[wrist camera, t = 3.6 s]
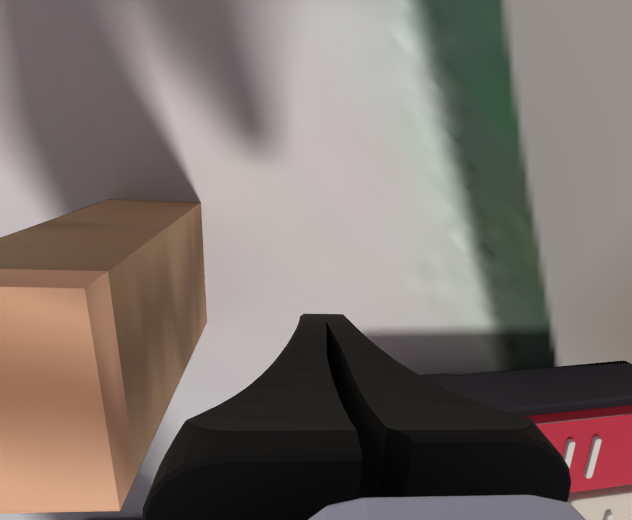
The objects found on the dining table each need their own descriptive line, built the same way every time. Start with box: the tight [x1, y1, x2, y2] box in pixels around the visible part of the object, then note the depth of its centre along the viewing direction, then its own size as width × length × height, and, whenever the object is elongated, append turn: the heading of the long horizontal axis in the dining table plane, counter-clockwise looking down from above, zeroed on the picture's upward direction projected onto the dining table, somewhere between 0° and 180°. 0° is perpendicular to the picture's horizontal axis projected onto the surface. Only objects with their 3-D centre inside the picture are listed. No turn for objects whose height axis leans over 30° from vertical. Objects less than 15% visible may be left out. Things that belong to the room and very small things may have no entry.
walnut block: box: [0, 199, 207, 513], centre depth 13 cm, size 6×4×10 cm, turn 177°
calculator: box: [420, 361, 632, 520], centre depth 21 cm, size 11×4×15 cm
